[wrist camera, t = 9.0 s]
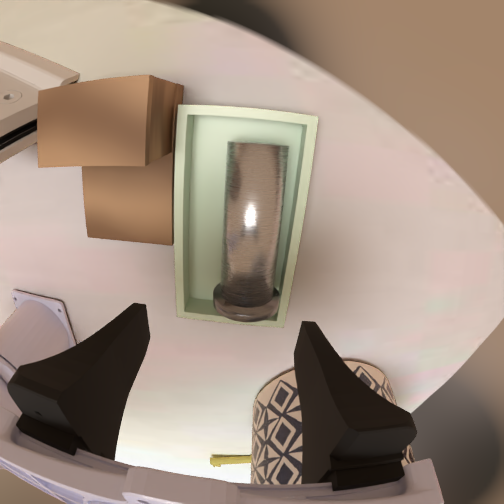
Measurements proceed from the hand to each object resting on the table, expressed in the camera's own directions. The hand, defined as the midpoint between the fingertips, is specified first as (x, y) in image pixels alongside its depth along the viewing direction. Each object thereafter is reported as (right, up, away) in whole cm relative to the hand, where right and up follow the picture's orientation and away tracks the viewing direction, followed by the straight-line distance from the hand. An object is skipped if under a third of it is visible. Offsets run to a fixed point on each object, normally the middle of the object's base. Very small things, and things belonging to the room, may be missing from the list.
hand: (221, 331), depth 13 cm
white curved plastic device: (-20, +18, +3) cm, 27 cm away
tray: (0, +6, +8) cm, 10 cm away
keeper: (-7, +10, +7) cm, 14 cm away
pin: (0, +6, +7) cm, 10 cm away
